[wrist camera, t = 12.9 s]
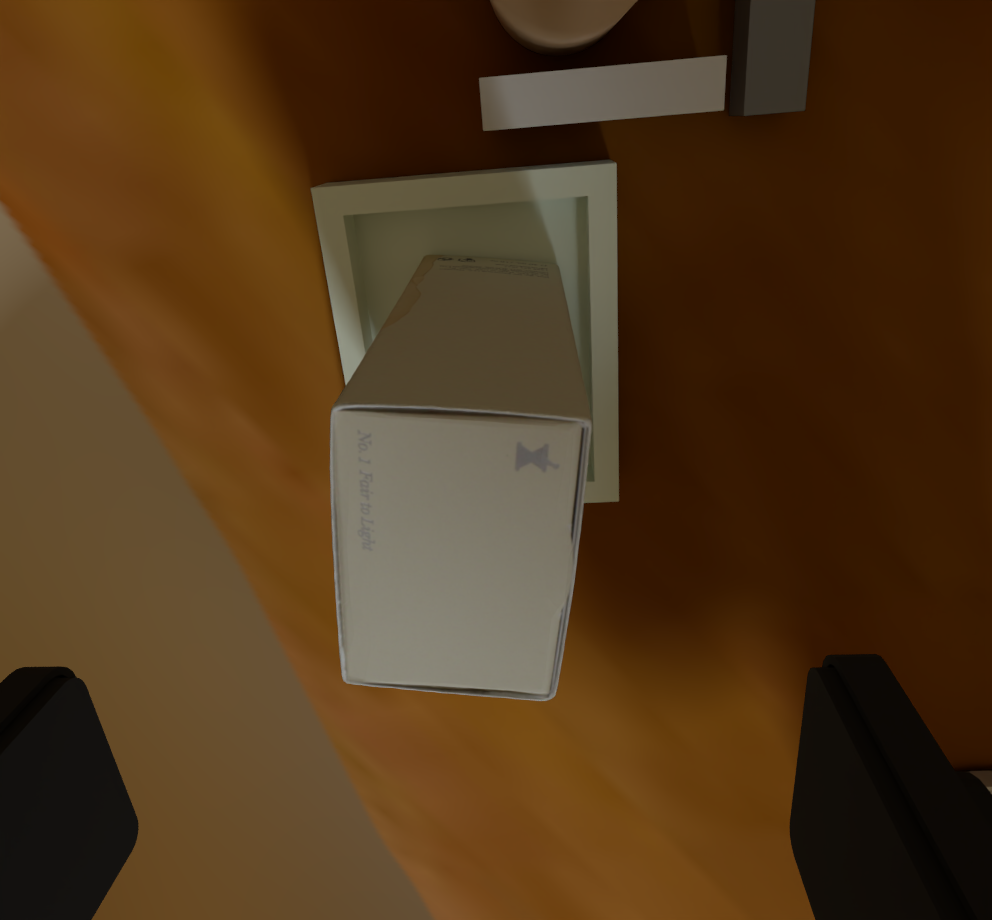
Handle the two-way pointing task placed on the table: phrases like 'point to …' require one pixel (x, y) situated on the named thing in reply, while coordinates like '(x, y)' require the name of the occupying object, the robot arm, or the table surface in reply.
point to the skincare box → (461, 484)
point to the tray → (492, 234)
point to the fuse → (559, 22)
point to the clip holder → (670, 78)
